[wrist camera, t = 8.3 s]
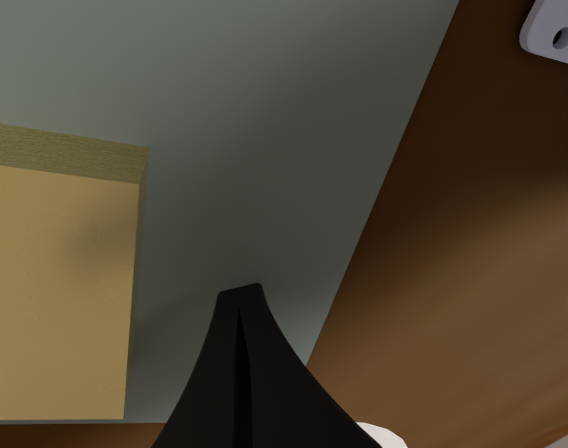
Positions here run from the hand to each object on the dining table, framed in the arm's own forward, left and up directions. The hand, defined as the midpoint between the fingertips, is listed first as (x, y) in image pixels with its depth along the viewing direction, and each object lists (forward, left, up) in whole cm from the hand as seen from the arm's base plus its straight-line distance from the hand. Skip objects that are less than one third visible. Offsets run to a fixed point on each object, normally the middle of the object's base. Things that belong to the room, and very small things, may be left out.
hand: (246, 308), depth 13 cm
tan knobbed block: (+7, 0, -1) cm, 7 cm away
